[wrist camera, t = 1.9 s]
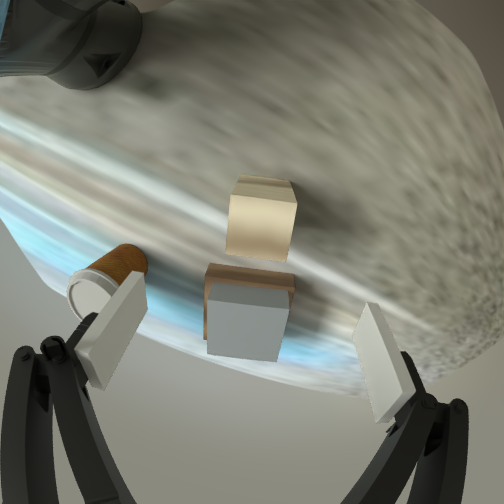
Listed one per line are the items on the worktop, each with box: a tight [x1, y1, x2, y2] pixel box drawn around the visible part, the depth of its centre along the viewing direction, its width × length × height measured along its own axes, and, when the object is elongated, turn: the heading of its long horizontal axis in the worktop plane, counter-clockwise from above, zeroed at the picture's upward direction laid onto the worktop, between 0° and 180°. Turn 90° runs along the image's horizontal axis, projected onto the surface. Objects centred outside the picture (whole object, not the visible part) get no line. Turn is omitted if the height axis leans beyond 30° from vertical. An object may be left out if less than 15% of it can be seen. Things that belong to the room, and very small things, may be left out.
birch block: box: [225, 174, 297, 262], centre depth 30 cm, size 6×6×10 cm
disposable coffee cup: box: [67, 244, 148, 322], centre depth 34 cm, size 10×10×12 cm
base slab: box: [204, 263, 295, 340], centre depth 40 cm, size 12×12×4 cm
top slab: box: [207, 282, 290, 362], centre depth 37 cm, size 10×10×4 cm
